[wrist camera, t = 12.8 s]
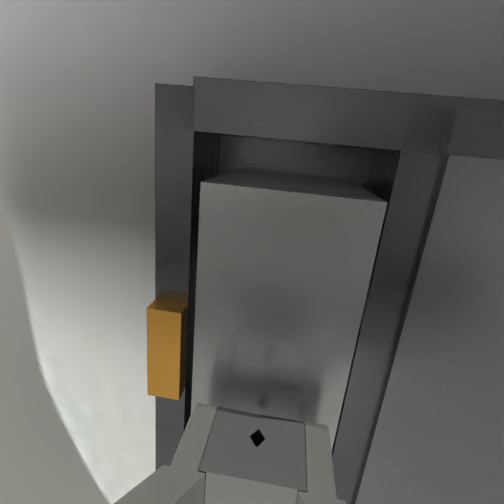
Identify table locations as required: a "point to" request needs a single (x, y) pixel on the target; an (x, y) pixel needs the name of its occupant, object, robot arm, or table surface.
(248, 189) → the gray metallic block
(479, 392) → the grey flat box
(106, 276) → the table surface
